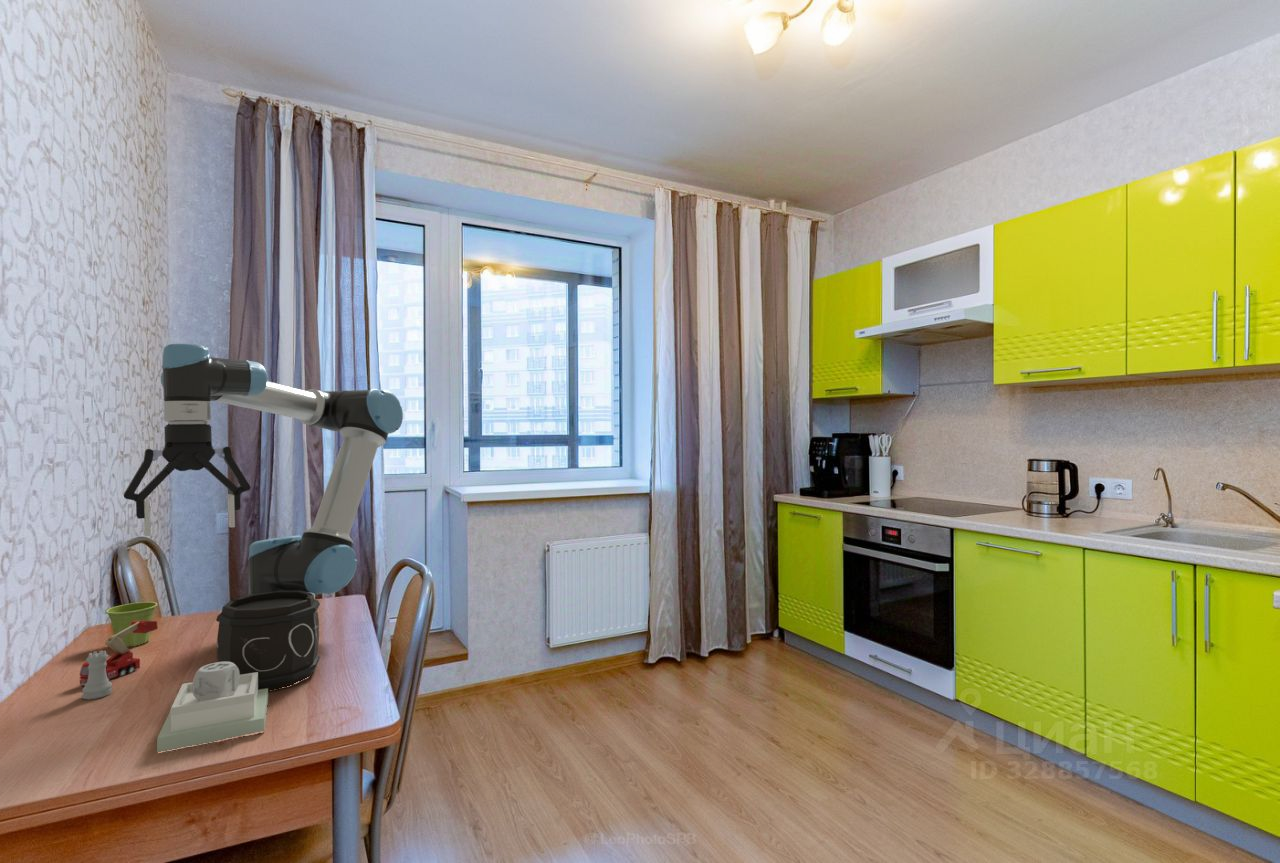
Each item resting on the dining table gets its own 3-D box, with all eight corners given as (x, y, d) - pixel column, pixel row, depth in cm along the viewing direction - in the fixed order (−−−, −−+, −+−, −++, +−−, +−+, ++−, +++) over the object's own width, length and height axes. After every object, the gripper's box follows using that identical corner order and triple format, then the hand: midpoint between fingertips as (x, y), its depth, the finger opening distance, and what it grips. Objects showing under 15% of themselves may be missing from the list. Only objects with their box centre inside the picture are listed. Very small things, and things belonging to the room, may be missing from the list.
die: (224, 701, 103) (224, 671, 103) (191, 703, 102) (191, 672, 102) (240, 689, 108) (240, 660, 108) (208, 691, 107) (208, 662, 107)
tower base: (268, 704, 115) (268, 667, 115) (264, 736, 102) (264, 695, 102) (173, 721, 108) (173, 682, 108) (157, 757, 96) (157, 713, 96)
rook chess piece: (114, 695, 118) (115, 652, 118) (83, 702, 115) (83, 658, 115) (110, 688, 121) (110, 647, 121) (79, 696, 118) (79, 653, 118)
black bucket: (340, 673, 128) (340, 595, 129) (245, 704, 114) (245, 616, 114) (294, 656, 139) (294, 584, 139) (201, 682, 124) (202, 602, 124)
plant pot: (116, 653, 141) (116, 614, 141) (99, 646, 146) (99, 609, 146) (164, 641, 149) (164, 605, 149) (147, 635, 154) (147, 599, 154)
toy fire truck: (76, 687, 122) (76, 637, 122) (145, 662, 135) (145, 617, 135) (90, 688, 121) (90, 638, 121) (157, 663, 135) (157, 618, 135)
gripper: (105, 424, 113) (108, 542, 113) (264, 422, 129) (267, 525, 130) (104, 424, 119) (107, 536, 119) (257, 422, 135) (259, 521, 135)
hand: (191, 531), depth 124 cm, fingers open, 13 cm apart
